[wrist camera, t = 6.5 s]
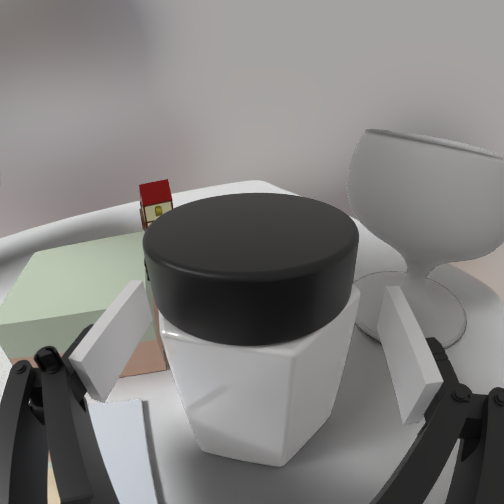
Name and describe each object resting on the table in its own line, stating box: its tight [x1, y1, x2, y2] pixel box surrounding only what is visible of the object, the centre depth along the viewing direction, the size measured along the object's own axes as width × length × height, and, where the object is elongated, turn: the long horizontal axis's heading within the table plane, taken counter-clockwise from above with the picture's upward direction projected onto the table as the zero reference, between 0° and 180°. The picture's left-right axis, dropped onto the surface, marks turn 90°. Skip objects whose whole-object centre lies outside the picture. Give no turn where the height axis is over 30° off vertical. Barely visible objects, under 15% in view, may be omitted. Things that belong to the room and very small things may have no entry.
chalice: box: [347, 129, 504, 348], centre depth 21 cm, size 14×14×15 cm
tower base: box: [0, 231, 166, 377], centre depth 22 cm, size 12×12×6 cm
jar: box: [142, 193, 361, 467], centre depth 14 cm, size 9×8×12 cm
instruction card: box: [48, 399, 159, 504], centre depth 11 cm, size 9×12×1 cm
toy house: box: [139, 179, 173, 231], centre depth 41 cm, size 6×7×8 cm
